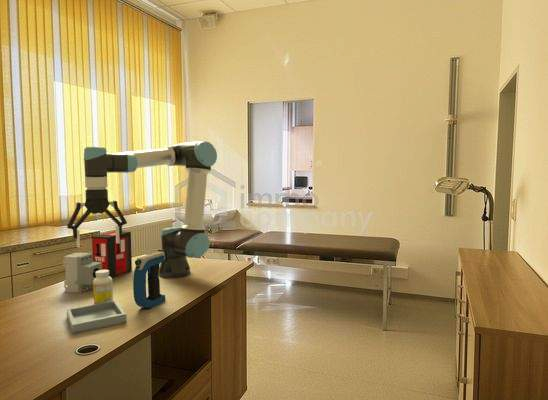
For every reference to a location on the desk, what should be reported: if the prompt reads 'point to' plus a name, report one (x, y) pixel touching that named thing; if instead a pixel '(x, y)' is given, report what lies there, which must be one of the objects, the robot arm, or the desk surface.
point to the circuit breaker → (80, 272)
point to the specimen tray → (95, 316)
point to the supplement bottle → (102, 287)
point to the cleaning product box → (113, 252)
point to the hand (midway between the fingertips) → (98, 245)
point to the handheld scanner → (139, 279)
